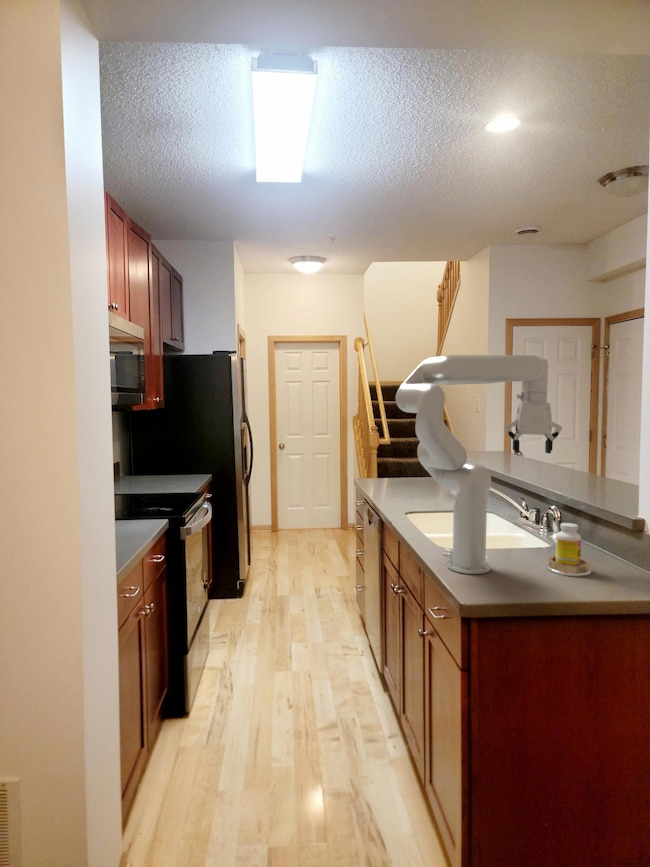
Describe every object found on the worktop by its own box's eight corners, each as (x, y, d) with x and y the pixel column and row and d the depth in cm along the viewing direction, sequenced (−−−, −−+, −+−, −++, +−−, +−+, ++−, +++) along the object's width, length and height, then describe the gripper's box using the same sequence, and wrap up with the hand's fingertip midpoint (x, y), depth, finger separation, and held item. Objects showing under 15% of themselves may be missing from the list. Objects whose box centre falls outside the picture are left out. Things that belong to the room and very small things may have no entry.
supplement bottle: (580, 572, 157) (582, 528, 156) (555, 569, 160) (557, 526, 159) (579, 565, 163) (581, 523, 163) (555, 563, 166) (556, 521, 165)
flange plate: (539, 569, 162) (539, 560, 162) (557, 561, 170) (557, 552, 170) (580, 579, 153) (581, 569, 153) (597, 570, 161) (597, 561, 161)
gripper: (509, 397, 168) (507, 453, 169) (567, 398, 167) (564, 454, 168) (502, 398, 175) (501, 451, 176) (558, 398, 174) (556, 452, 175)
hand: (532, 452), depth 172 cm, fingers open, 9 cm apart
